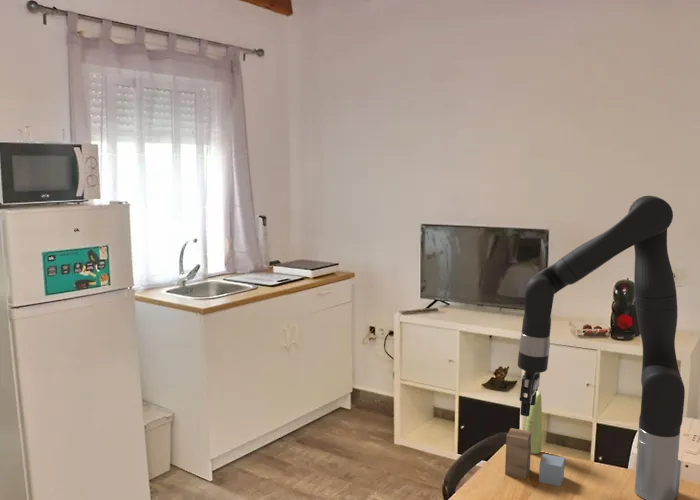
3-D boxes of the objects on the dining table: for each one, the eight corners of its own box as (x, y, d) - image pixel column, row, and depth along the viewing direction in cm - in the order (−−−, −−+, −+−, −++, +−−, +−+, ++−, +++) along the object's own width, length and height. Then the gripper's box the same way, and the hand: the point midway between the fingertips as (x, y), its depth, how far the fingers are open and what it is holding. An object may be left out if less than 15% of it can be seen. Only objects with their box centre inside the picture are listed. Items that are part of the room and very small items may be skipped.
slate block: (542, 472, 170) (543, 453, 169) (563, 477, 168) (564, 457, 167) (538, 482, 165) (539, 462, 164) (560, 486, 163) (561, 466, 162)
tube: (546, 451, 183) (549, 386, 180) (537, 456, 179) (540, 391, 176) (529, 444, 187) (531, 381, 184) (519, 450, 183) (522, 385, 180)
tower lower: (509, 465, 174) (510, 446, 173) (529, 470, 171) (530, 450, 171) (505, 474, 169) (505, 455, 168) (525, 479, 167) (526, 459, 166)
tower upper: (510, 446, 173) (511, 427, 172) (530, 450, 171) (531, 431, 170) (505, 455, 168) (506, 435, 168) (526, 459, 166) (527, 439, 165)
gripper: (544, 361, 156) (537, 422, 159) (552, 346, 169) (546, 404, 171) (513, 355, 159) (507, 416, 162) (524, 341, 172) (518, 398, 174)
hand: (527, 409), depth 167 cm, fingers open, 8 cm apart
